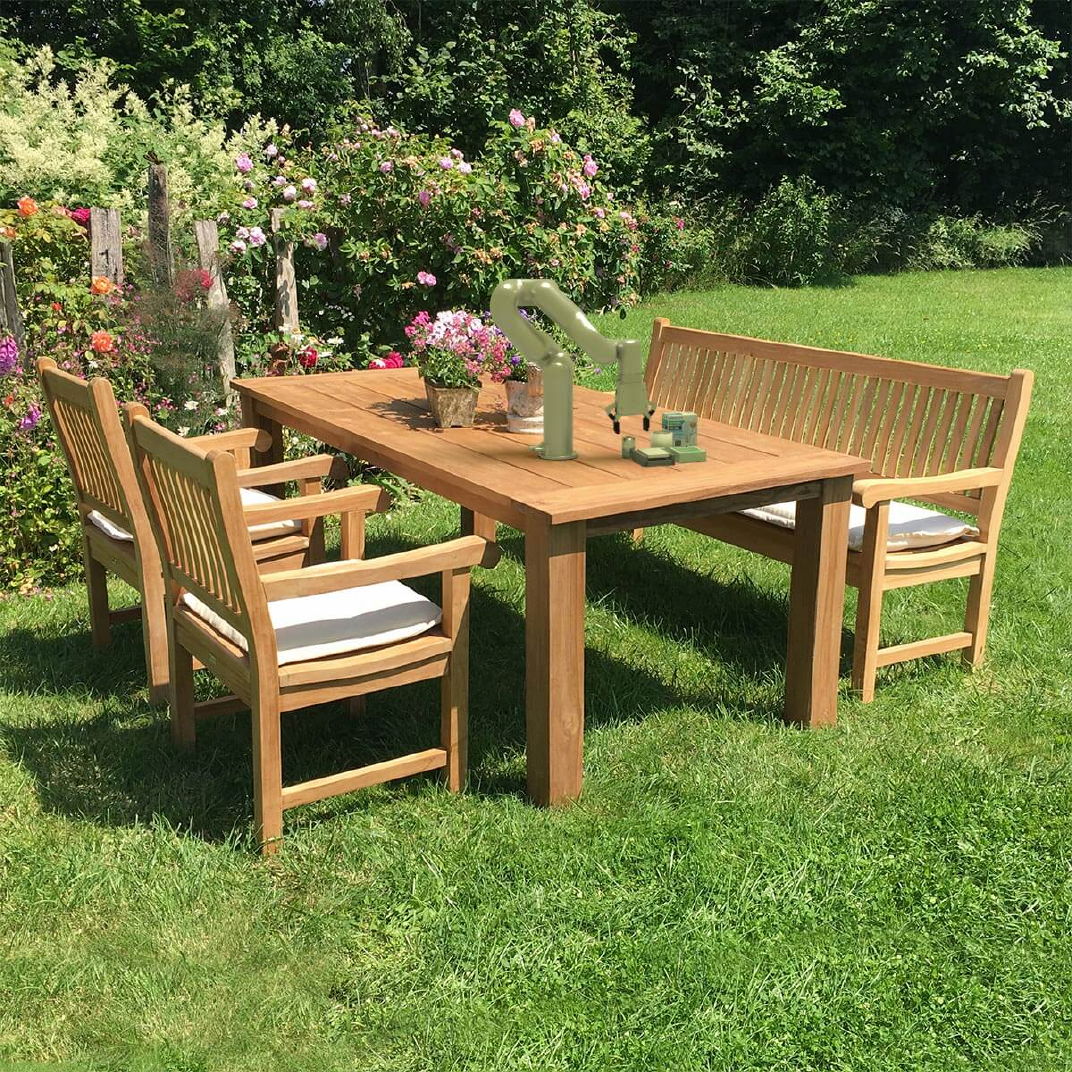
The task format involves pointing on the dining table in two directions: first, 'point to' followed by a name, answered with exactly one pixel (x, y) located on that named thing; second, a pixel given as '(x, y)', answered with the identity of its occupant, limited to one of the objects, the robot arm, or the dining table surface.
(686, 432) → the light bulb box
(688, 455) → the tray
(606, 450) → the dining table surface
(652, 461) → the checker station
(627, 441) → the cell
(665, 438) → the ceramic cup
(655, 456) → the checker pad
